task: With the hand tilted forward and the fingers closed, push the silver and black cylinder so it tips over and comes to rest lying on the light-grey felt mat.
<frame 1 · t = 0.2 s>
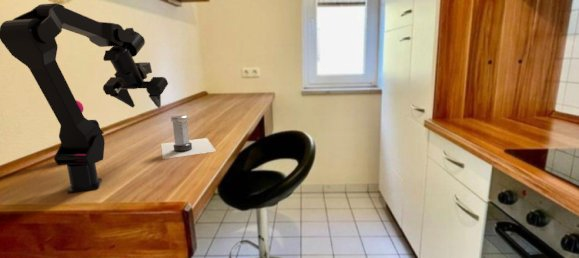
hand: (146, 106, 107), 15 cm above the table, tool tilted 30°, fingers open, 9 cm apart
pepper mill: (81, 158, 106), on the table
felt mat: (187, 148, 112), on the table
silver and black cylinder: (183, 149, 109), resting on felt mat
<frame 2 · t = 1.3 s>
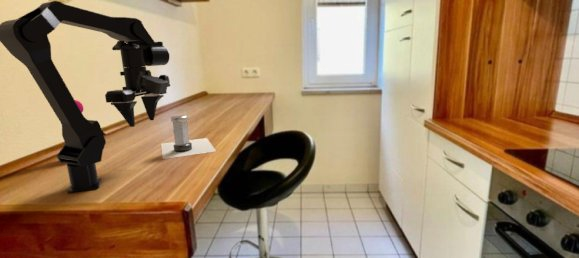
hand: (142, 123, 94), 12 cm above the table, tool pointing down, fingers open, 8 cm apart
nothing on the table moved.
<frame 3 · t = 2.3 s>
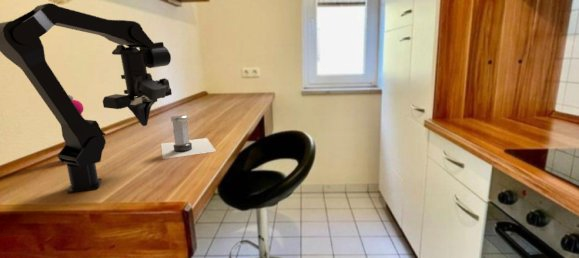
hand: (144, 125, 95), 11 cm above the table, tool pointing down, fingers closed
nothing on the table moved.
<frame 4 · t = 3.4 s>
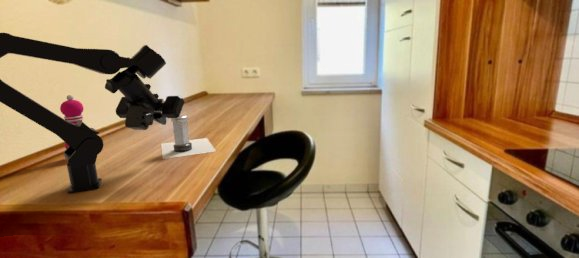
hand: (164, 123, 99), 11 cm above the table, tool tilted 45°, fingers closed
nothing on the table moved.
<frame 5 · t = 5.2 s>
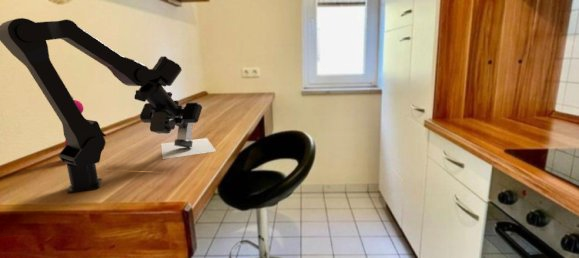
hand: (183, 127, 108), 8 cm above the table, tool tilted 45°, fingers closed
silver and black cylinder: (183, 146, 109), point 1 cm above the table, tilted 24°, touching felt mat
everything else where it was.
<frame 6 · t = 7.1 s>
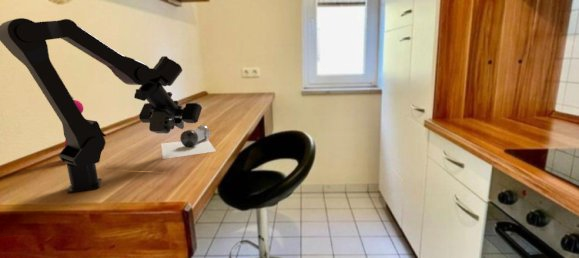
hand: (182, 127, 108), 8 cm above the table, tool tilted 45°, fingers closed
silver and black cylinder: (188, 139, 111), point 3 cm above the table, tilted 91°, touching felt mat
everything else where it was.
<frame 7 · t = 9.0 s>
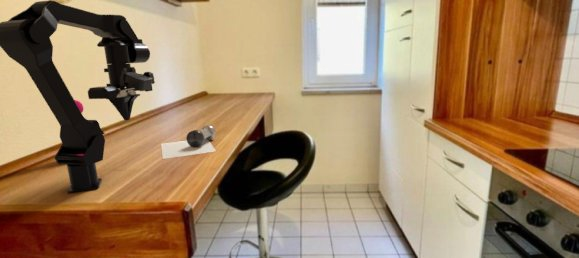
hand: (127, 120, 94), 13 cm above the table, tool pointing down, fingers closed
silver and black cylinder: (194, 139, 110), point 3 cm above the table, tilted 91°, touching felt mat
everything else where it was.
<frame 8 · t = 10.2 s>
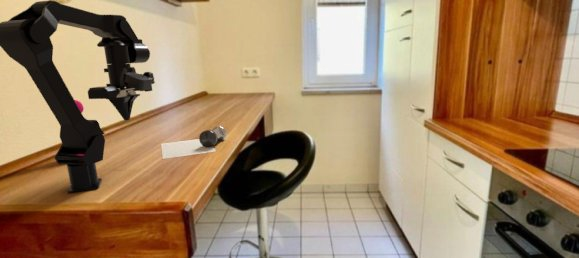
hand: (127, 120, 94), 13 cm above the table, tool pointing down, fingers closed
silver and black cylinder: (207, 139, 110), point 3 cm above the table, tilted 93°, touching felt mat
everything else where it was.
at the end: silver and black cylinder tilted 93°; silver and black cylinder inside the target area (8.1 cm from its centre), point 3.2 cm above the table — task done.
